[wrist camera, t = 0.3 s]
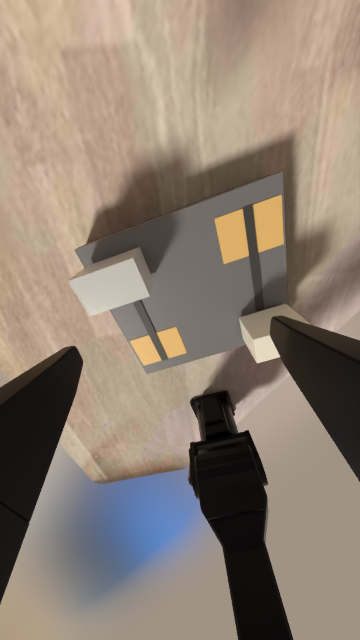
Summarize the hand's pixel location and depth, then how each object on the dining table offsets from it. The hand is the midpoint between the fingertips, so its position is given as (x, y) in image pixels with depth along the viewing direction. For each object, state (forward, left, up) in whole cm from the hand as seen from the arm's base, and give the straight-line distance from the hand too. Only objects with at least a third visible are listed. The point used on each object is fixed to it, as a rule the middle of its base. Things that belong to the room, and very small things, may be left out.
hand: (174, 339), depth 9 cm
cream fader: (-9, -8, -11) cm, 16 cm away
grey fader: (+1, +4, -10) cm, 11 cm away
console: (-4, -2, -14) cm, 15 cm away
